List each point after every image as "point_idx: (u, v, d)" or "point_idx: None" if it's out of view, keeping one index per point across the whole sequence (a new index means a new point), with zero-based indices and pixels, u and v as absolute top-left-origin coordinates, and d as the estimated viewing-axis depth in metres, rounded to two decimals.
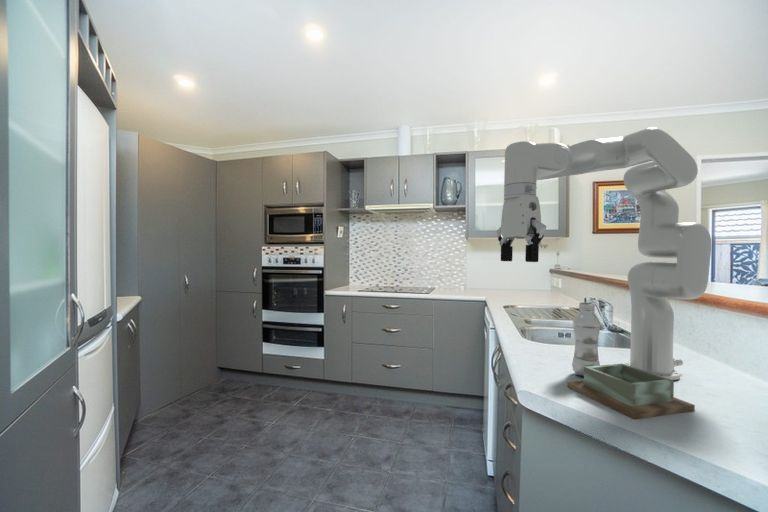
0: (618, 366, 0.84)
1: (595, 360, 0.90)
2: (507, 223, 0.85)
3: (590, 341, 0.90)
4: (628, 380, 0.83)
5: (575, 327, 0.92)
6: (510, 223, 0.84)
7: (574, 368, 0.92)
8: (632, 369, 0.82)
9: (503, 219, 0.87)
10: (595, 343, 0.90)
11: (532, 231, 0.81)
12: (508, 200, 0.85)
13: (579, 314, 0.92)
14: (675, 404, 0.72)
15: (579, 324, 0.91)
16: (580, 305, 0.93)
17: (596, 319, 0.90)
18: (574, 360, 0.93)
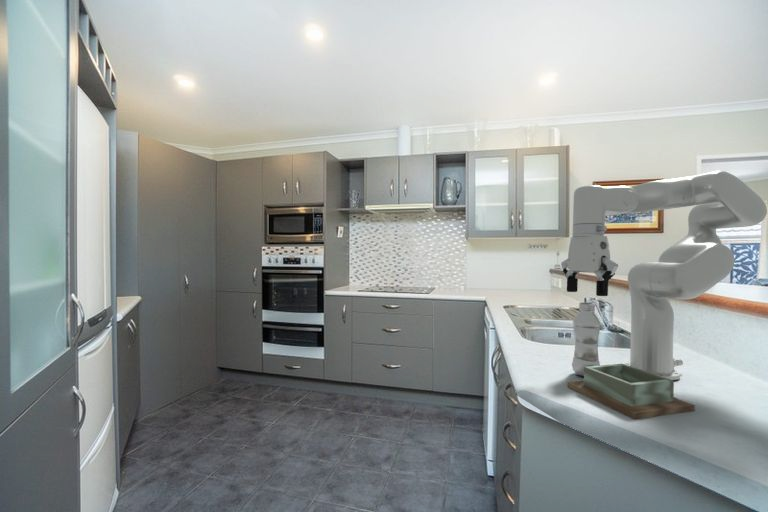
0: (618, 366, 0.84)
1: (595, 360, 0.90)
2: (575, 259, 0.93)
3: (590, 341, 0.90)
4: (628, 380, 0.83)
5: (575, 327, 0.92)
6: (579, 259, 0.92)
7: (574, 368, 0.92)
8: (632, 369, 0.82)
9: (571, 254, 0.95)
10: (595, 343, 0.90)
11: (601, 267, 0.89)
12: (577, 237, 0.93)
13: (579, 314, 0.92)
14: (675, 404, 0.72)
15: (579, 324, 0.91)
16: (580, 305, 0.93)
17: (596, 319, 0.90)
18: (574, 360, 0.93)
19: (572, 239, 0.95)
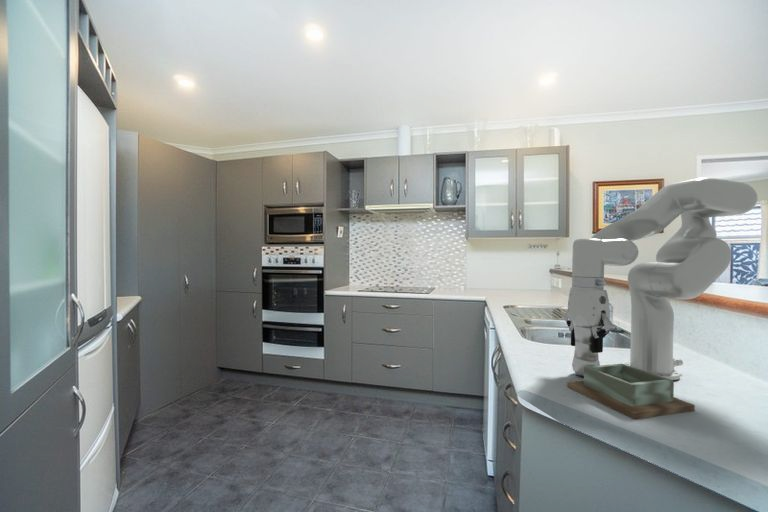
0: (618, 366, 0.84)
1: (595, 360, 0.90)
2: (575, 310, 0.93)
3: (590, 341, 0.90)
4: (628, 380, 0.83)
5: (575, 327, 0.92)
6: (579, 311, 0.92)
7: (574, 368, 0.92)
8: (632, 369, 0.82)
9: (570, 304, 0.95)
10: None
11: (599, 322, 0.90)
12: (576, 289, 0.93)
13: None
14: (675, 404, 0.72)
15: (579, 324, 0.91)
16: None
17: None
18: (574, 360, 0.93)
19: (571, 290, 0.95)
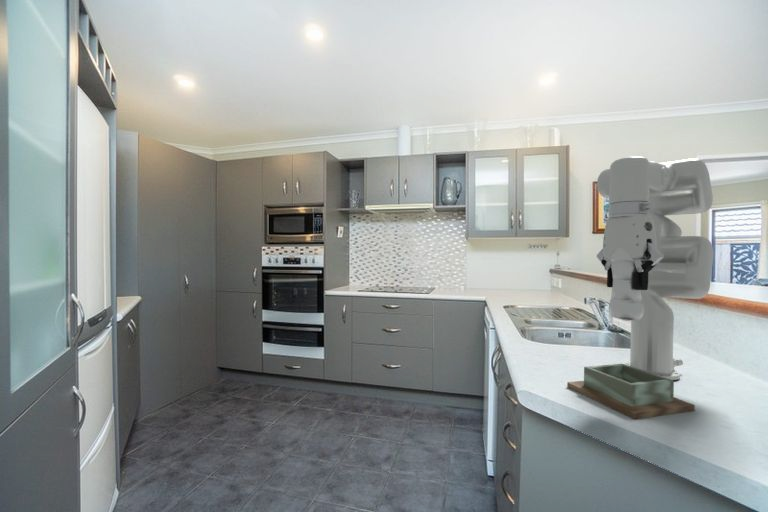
0: (618, 366, 0.84)
1: (638, 299, 0.76)
2: (613, 244, 0.80)
3: (632, 277, 0.76)
4: (628, 380, 0.83)
5: (613, 263, 0.79)
6: (618, 243, 0.78)
7: (612, 311, 0.79)
8: (632, 369, 0.82)
9: (607, 238, 0.81)
10: None
11: (643, 255, 0.76)
12: (615, 219, 0.79)
13: None
14: (675, 404, 0.72)
15: (618, 258, 0.77)
16: None
17: None
18: (612, 302, 0.79)
19: (608, 221, 0.81)
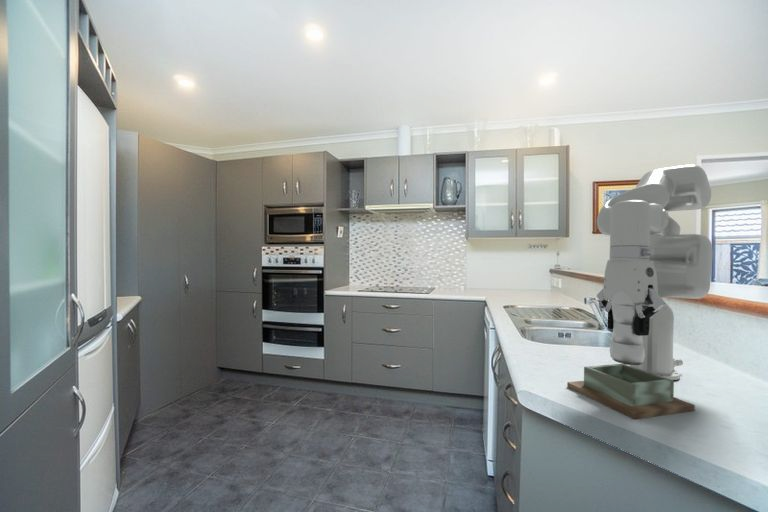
0: (618, 366, 0.84)
1: (639, 345, 0.75)
2: (614, 286, 0.79)
3: (634, 322, 0.76)
4: (628, 380, 0.83)
5: (614, 306, 0.78)
6: (619, 287, 0.78)
7: (613, 354, 0.78)
8: (632, 369, 0.82)
9: (607, 280, 0.81)
10: None
11: (644, 300, 0.76)
12: (616, 261, 0.79)
13: None
14: (675, 404, 0.72)
15: (619, 302, 0.77)
16: None
17: None
18: (613, 345, 0.78)
19: (609, 263, 0.81)
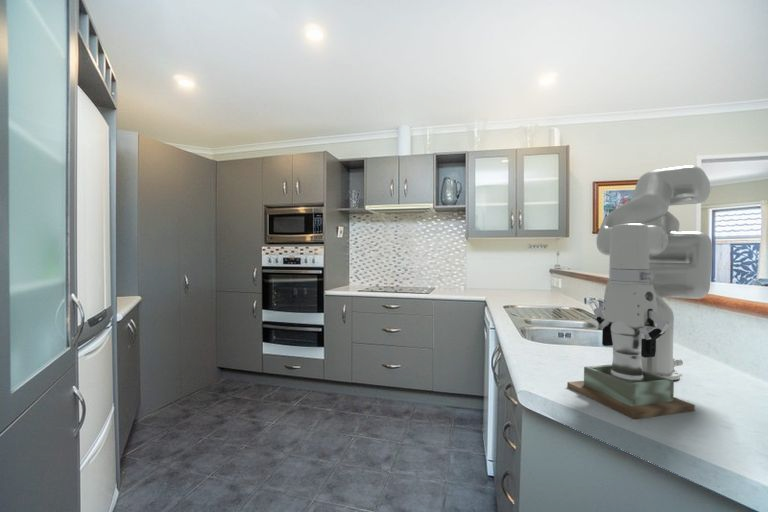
0: None
1: (639, 374, 0.76)
2: (613, 309, 0.79)
3: (633, 351, 0.76)
4: None
5: (614, 335, 0.78)
6: (619, 310, 0.78)
7: None
8: None
9: (607, 302, 0.81)
10: (639, 354, 0.76)
11: (646, 322, 0.75)
12: (615, 284, 0.79)
13: None
14: (675, 404, 0.72)
15: (619, 331, 0.77)
16: None
17: None
18: (613, 374, 0.79)
19: (608, 285, 0.81)
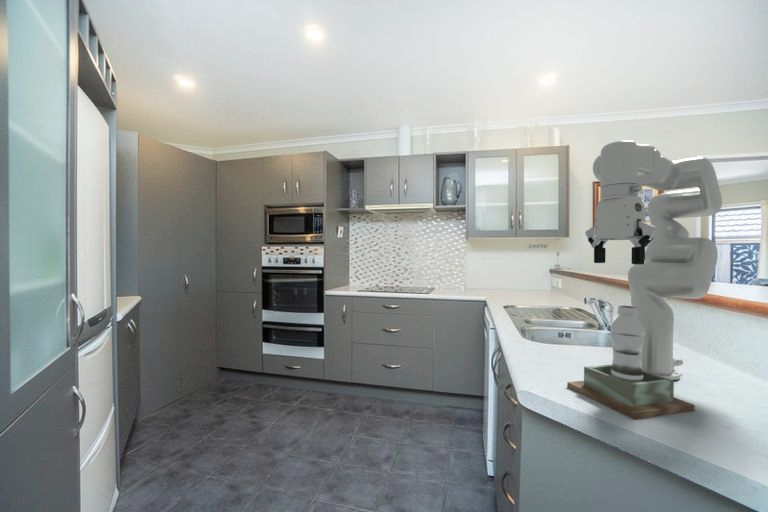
0: None
1: (639, 374, 0.76)
2: (605, 225, 0.83)
3: (633, 351, 0.76)
4: None
5: (614, 335, 0.78)
6: (610, 224, 0.82)
7: None
8: None
9: (598, 220, 0.85)
10: (639, 354, 0.76)
11: (636, 233, 0.79)
12: (606, 201, 0.83)
13: (619, 319, 0.78)
14: (675, 404, 0.72)
15: (619, 331, 0.77)
16: (620, 309, 0.78)
17: (640, 325, 0.76)
18: (613, 374, 0.79)
19: (600, 203, 0.85)
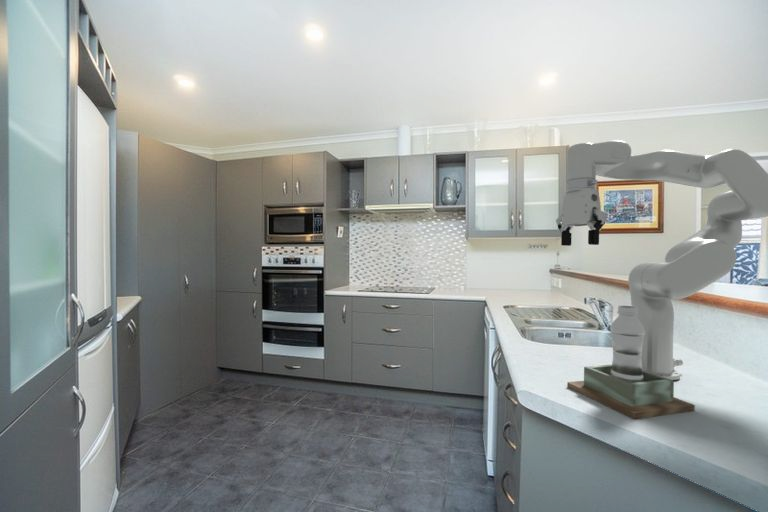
0: None
1: (639, 374, 0.76)
2: (569, 213, 1.00)
3: (633, 351, 0.76)
4: None
5: (614, 335, 0.78)
6: (572, 212, 0.99)
7: None
8: None
9: (564, 209, 1.02)
10: (639, 354, 0.76)
11: (593, 219, 0.96)
12: (570, 193, 1.00)
13: (619, 319, 0.78)
14: (675, 404, 0.72)
15: (619, 331, 0.77)
16: (620, 309, 0.78)
17: (640, 325, 0.76)
18: (613, 374, 0.79)
19: (566, 195, 1.02)
